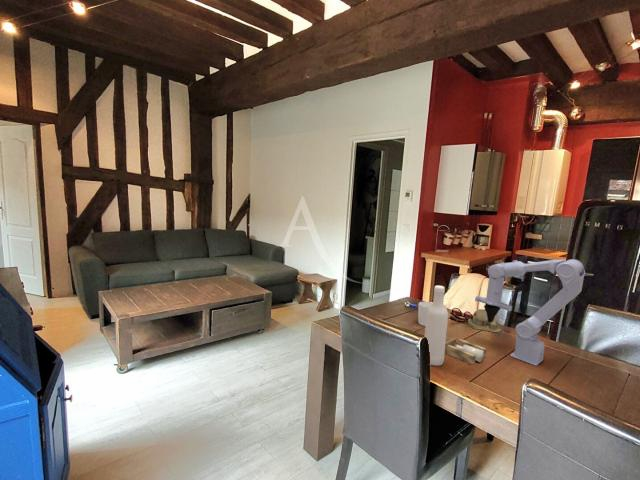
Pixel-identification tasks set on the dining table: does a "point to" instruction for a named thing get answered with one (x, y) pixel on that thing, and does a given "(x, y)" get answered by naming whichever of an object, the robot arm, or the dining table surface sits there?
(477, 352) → the bottle
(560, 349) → the dining table surface
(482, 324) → the ceramic model
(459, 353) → the u rest
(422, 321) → the white cup
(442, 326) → the bottle
